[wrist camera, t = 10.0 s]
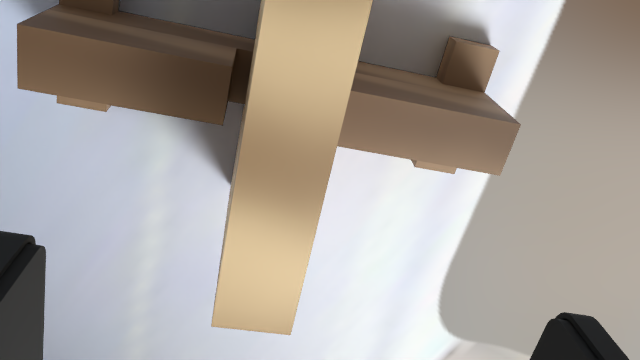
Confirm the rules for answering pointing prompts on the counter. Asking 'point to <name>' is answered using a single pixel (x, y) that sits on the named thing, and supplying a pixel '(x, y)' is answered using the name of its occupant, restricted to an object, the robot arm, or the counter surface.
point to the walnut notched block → (233, 75)
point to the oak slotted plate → (285, 156)
